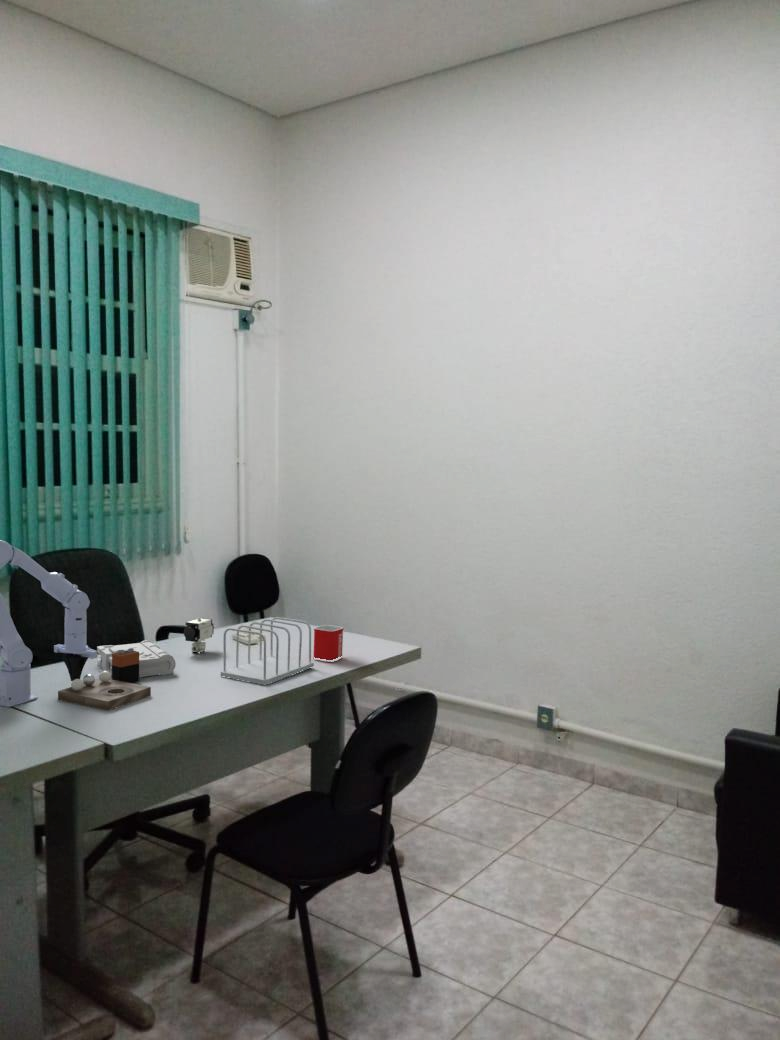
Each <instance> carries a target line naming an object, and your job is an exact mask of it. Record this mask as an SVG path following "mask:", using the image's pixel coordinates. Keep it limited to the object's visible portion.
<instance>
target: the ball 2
mask: <svg viewBox="0 0 780 1040" xmlns="http://www.w3.org/2000/svg"><path fill="white" fill-rule="evenodd" d="M98 679H100V681H102V682H108V681H109V680H110V679H112V677H111V674H110V672H108V671H103V670H102V671H101V672H100V673H99V675H98Z"/></svg>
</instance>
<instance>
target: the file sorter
mask: <svg viewBox="0 0 780 1040" xmlns="http://www.w3.org/2000/svg"><path fill="white" fill-rule="evenodd" d="M286 621H288V622H286ZM265 622H270V624H269V623H265ZM293 622H295V623H293ZM274 623H277V624H282V625H289V626H294V627H296V628H297V629H298V631H299V644H298V645H299V648H298V659H295V658H294V659H293V658H291V634H290V631H289V629H288V628H287V627H284V626H279V625H276V624H274ZM297 623H302V624H305V625H306V626H308V627H307V628H308V661H305V660H302V643H303V642H302V640H303V638H302V636H303V631H302V628H301V626H300V625H299V624H297ZM253 625H259V627H257V626H253ZM263 626H264V627H270V629H267V628H263ZM241 628H246V629H248V630H245V629H241ZM274 628H276V629H280V630H285V632H286V633H287V657H282V656H279V648H280V646H279V645H280V644H279V641H280V640H279V635H278V634H277V632H275V630H274ZM252 630H257V631H259V632H256V631H252ZM228 631H234V632H236V649H235V652H236V655H235V656H236V657H235V658H236V662H235V667H231V668H229V669H227V667H226V666H227V656H226V655H227V652H226V651H227V641H226V639H227V632H228ZM263 632H268V633H270V655H268V656H267V639H266V637H265V635H264V634H263ZM240 633H247V634H248V643H247V644H248V647H247V649H248V652H247V662H246V663H244V664H241V665H239V649H240V648H239V647H240V645H239V643H240V641H239V639H240ZM252 635H258V636H259V659H256V660H253V661H251V637H252ZM273 635H275V639H276V648H275V649H276V654H275V655H274V653H273V648H274V647H273V646H274V645H273V643H274V642H273ZM262 643H263V644H262ZM262 646H263V647H262ZM262 648H263V649H262ZM262 651H263V652H262ZM262 653H263V654H262ZM262 655H263V658H262ZM313 666H314V667H315V664H314V662H313V661H312V627H311V625H310V623H309V622H307V621H306V620H301V619H294V618H287V617H279V616H278V617H277V616H275V617H274V618H272V619H269V618H266V619H263V620H262V621H260V622H259V621H255V622H251V623H250V625H246V624H241V625H240V626H239V627H238V628H233V627H228V628H227V629H225V630H224V632H223V670H221V671H220V676H225V677H230V678H234V679H239V680H244V681H249V682H248V683H250V682H254V683H253V684H255V683H258V684H257V685H260V684H263V685H262V686H267V685H266V684H268V685H270V684H272V683H271V682H273V683H275V682H274V681H276V682H278V681H277V680H279V681H281V680H283V679H282V678H284V679H286V678H285V677H287V676H289V677H291V676H290V675H292V674H295V673H297V672H300V671H302V670H306V669H308V668H310V667H313ZM306 671H307V670H306ZM300 673H301V672H300ZM295 675H296V674H295ZM292 676H293V675H292ZM287 678H288V677H287ZM234 679H233V680H234ZM280 679H281V680H280ZM239 680H238V681H239ZM244 681H243V682H244ZM269 683H270V684H269Z"/></svg>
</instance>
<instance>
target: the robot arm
mask: <svg viewBox="0 0 780 1040" xmlns="http://www.w3.org/2000/svg"><path fill="white" fill-rule="evenodd" d="M7 564H8V565H11V566H18V567H20V569H22V570H24V571H25V572H26V573H29V574H30V575H31V576H33V577H34V578H35V579H37V580H38V581H40V585H41V589H42V590H43V591H45V592H46V593H47V594H48V595H50V596H51V597H52V598H54V600H57V601H58V602H60V603H61V604H62V606H63V607H64V644H61V643H58V644H55V645H53V652H54V653H63V654H65V655H64V656H62V659H61V660H62V661H63V662H64V665H65V667H66V668H67V672H68V674H69V679H70V682H72V681H73V680H75V679H81V676H82V673H83V670H84V667H85V664H86V663H87V661H88V659H91V660H93V659H98V652H97V649H96V650H95V649H92V648H91V647H89V645H87V609H88V608H89V606H90V603H91V600H90V599H89V597H88V595H87V593H85V592H84V591H81V590H80V589H79V586H78V585H77V584H75V583H74V584H73V583H71V581H69V580H68V579H66V578H65V576H66V575H65V574H63V573H61V572H59V573H58V572H56V571H53V572H49V571H47V570H46V569H45V568H44V567H42V566H41V565H40V564H39V563H38V562H36V561H35V560H34V559H33V558H32V557H30V556H29V555H28V554H27V553H26V552H24V551H23V550H21V549H19V548H17V547H15V546H13V545H11V544H10V543H9V542H7V541H4V540H1V539H0V570H1V569H2V568H4V567H5V566H6V565H7ZM0 659H1V660H2V661H3V662H2V664H1V665H0V706H2V707H6V708H10V707H15V706H18V705H20V704H24V703H27V702H30V701H33V700H37V699H39V697H38V696H37V695H31V690H32V689H31V682H32V681H31V678H32V677H31V663H32V662H33V651H32V650H31V649H30V648H29V647H27V646H26V645H25V643H24V641H23V639H22V637H21V636H20V634H19V632H18V631H17V628H16V626H15V624H14V621H13V619H12V617H11V614H10V611H9V609H8V607H7V604H6V602H5V599H4V598H3V596H2V593H1V592H0Z"/></svg>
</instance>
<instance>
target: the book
mask: <svg viewBox="0 0 780 1040" xmlns="http://www.w3.org/2000/svg"><path fill="white" fill-rule="evenodd" d="M129 648H133V649H134V651H137V652H139V678H143V677H150V676H158V675H159V674H160V675H159V676H165V675H164V674H169V675H171V674H172V673H173V672H175V671H174V670H175V669H176V664H177V663H176V660H175V658H174V656H172V655H171V654H169V653H168V652H167V651H165V650H163V649H161V648H160V646H158V645H157V644H156V643H154V641H151V640H150V639H147V640H146V639H145V640H142V641H140V642H136V643H127V644H117V645H112V644H109V645H99V646H96V651H97V654H98V655H100V658H96V659H97V663H98V664H97V665H98V666H99V665H100V666H102V667H101V668H102V672H103V671H108V672H110V674H111V678H112V654H113V653H116V652H117V650H125V651H126V650H128V649H129ZM100 666H99V667H100Z"/></svg>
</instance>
